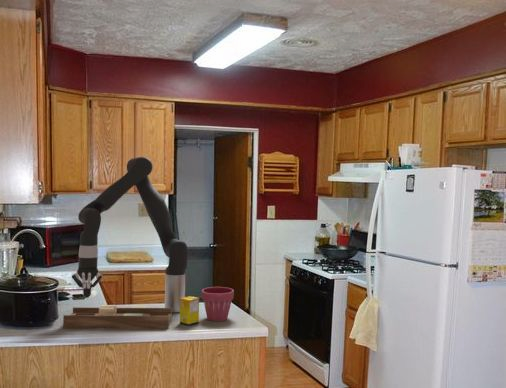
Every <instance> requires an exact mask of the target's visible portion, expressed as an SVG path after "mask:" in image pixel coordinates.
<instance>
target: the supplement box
mask: <svg viewBox="0 0 506 388" xmlns="http://www.w3.org/2000/svg"><path fill="white" fill-rule="evenodd" d="M199 316H200V297H196V296H192V295H189V296H185V297H183V298H180V312H179V324H181V325H184V326H188V327H190V326H193V325H196V324H199V323H200V321H199V319H200V317H199Z"/></svg>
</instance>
